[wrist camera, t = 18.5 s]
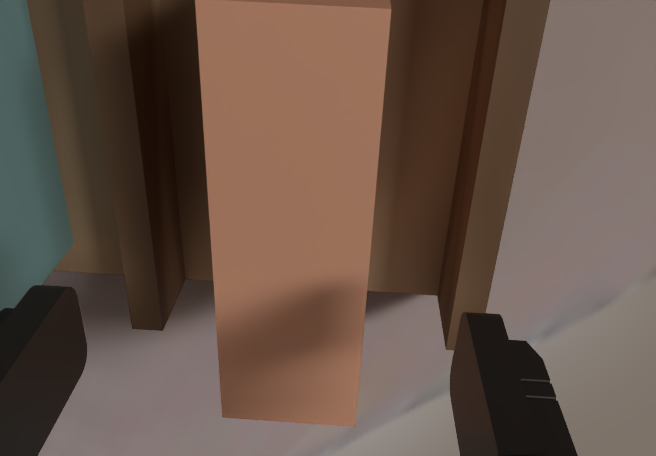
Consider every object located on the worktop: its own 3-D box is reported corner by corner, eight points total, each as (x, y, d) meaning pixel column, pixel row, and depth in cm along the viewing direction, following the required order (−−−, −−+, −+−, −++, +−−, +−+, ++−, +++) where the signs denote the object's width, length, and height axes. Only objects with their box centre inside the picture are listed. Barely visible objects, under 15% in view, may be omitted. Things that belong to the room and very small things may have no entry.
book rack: (-93, 242, 29) (-173, 308, 25) (-223, -129, 22) (-371, -127, 17) (460, 277, 28) (477, 351, 24) (526, -95, 21) (567, -83, 17)
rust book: (265, 255, 27) (222, 417, 19) (260, -53, 21) (195, -2, 13) (359, 261, 26) (355, 426, 19) (382, -47, 20) (391, 9, 13)
